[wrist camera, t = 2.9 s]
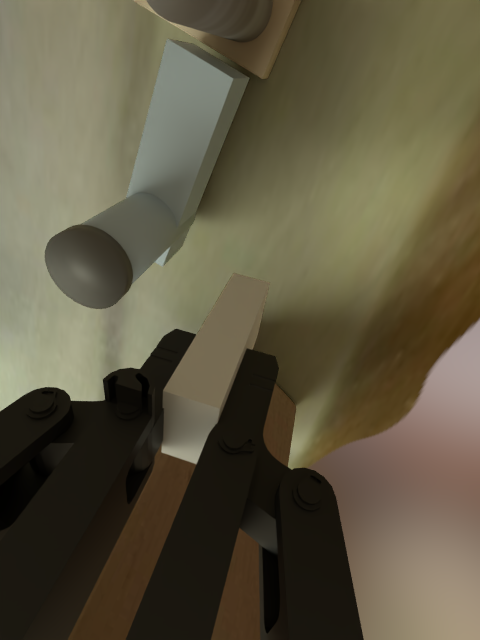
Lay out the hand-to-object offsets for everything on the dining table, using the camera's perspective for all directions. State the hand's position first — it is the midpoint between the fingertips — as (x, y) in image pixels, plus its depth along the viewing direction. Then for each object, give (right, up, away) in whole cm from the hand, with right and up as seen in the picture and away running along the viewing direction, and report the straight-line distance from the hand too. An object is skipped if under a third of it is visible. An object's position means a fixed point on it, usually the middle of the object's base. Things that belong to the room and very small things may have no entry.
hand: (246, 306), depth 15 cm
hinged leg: (-3, +8, +5) cm, 10 cm away
